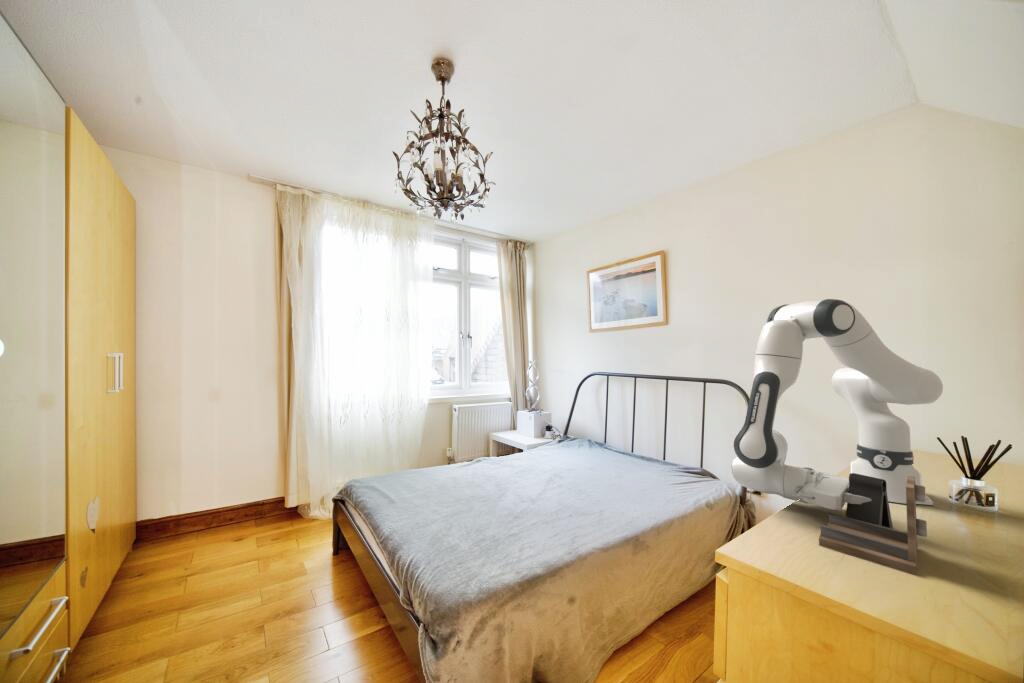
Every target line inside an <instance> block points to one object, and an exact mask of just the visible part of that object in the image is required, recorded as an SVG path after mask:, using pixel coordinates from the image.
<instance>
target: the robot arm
mask: <svg viewBox="0 0 1024 683" xmlns="http://www.w3.org/2000/svg"><path fill="white" fill-rule="evenodd" d="M816 338H817V339H818V338H823V340H824V341H825V343H826V344H827V346H828V347H829V349H830V350H831V352H832V353H833V354H834V356H835V357H836V359H837V361H839V363H840V364H842V365H844V366H845V367H841V368H838V369H837V370H835V372H834V373H833V375H832V377H831V386H832V389H833V390H834V392H835V393H836V394H837V395H839V396H840V397H841V398H843V399H844V400H845V402H847V404H848V405H849V407H850V408H851V409H852V412H853V414H854V417H855V419H856V425H857V437H858V438H857V439H858V444H856V456H857V458H856V459H854V460H852V461H851V462H850V473H855V474H860V475H865V476H869V477H874V478H878V479H883V480H885V481H886V484H887V497H888V502H889V503H890V502H892V503H895V504H896V503H898V504H903V505H904V504H905V505H906V484H907V478H908V476H911V477H915V485H921V486H923V484H922V474H921V473H920V472H919V471H918V470H917V469H916V468H915V467H914V466H913V464H914V458H915V457H914V453H913V451H912V450H911V449H912V447H911V428H910V426H909V424H908V423H907V421H905V420H904V419H902V418H901V417H900V416H898V415H896V414H894V413H893V412H892V410H890V408H889V406H888V403H889V404H897V405H898V404H899V405H909V406H910V405H913V406H914V405H926V404H932V403H935V402H936V401H937V400H939V398H940V397H941V396H942V394H943V390H944V385H943V382H942V380H941V378H940V377H939V375H938V374H937V373H936V372H934V371H932V370H930V369H928V368H923V367H921V366H919V365H916V364H914V363H911V362H909V361H908V360H906V359H904V358H902V357H901V356H900V355H898V354H896V353H895V352H894V351H892V350H891V349H889V347H887V346H886V345H885V344H884V342H883V341H882V340H881V339H880V337H879V336H878V334H877V333H876V331H875V330H874V329H873V327H872V326H871V324H870V323H869V321H868V320H867V319H866V318H865V317H864V316H863V315H862V313H861V312H860V311H859V310H858V309H857V308H856V307H854V306H853V305H852V304H851V303H848V302H846V301H844V300H842V299H834V298H826V299H818V300H817V299H815V300H812V299H811V300H804V301H800V302H795V303H791V304H782V305H780V306H777V307H775V308H774V309H772V310H771V311H770V313H769V314H768V316H767V319H766V323H765V324H764V325H763V327H762V329H761V331H760V334H759V336H758V339H757V344H756V347H755V348H756V349H755V352H754V353H755V354H754V361H753V363H754V364H753V374H752V384H751V390H750V396H749V399H748V400H749V401H748V405H747V406H748V407H747V410H746V415H745V420H744V423H743V426H742V428H741V429H740V431H738V433H737V435H736V436H735V438H734V441H733V449H734V450H733V451H734V452H735V455H736V457H735V458H733V459H732V462H731V471H732V472H731V473H732V475H733V478H734V480H735V481H736V483H737V484H739V485H740V486H741V487H744V488H747V489H750V490H753V491H756V492H758V493H759V492H760V493H764V494H766V495H778V496H779V497H782V498H784V499H788V500H792V501H796V502H800V503H803V504H810V505H814V506H818V507H820V508H824V509H827V510H831V511H839V512H840V511H842V509H843V508H844V506H845V505H846V504H847V503H850V504H862V503H864V502H869V501H872V500H871V499H870V498H867V497H863V496H859V495H853V494H851V493H848V492H849V478H846V477H843V476H840V475H835V474H830V473H827V472H822V471H816V469H815V468H812V467H799V466H793V465H787V464H785V462H786V459H787V458H786V457H787V453H788V442H787V439H786V437H784V435H783V434H781V433H780V432H778V431H776V430H775V429H774V423H775V418H776V413H777V408H778V403H779V401H780V398H781V397H782V395H783V394H784V393H785V392H786V391H787V390H788V389H790V388H791V387H792V386H793V385H795V383H797V382H796V381H797V379H798V377H799V374H800V371H801V367H802V362H803V353H804V352H803V351H804V349H803V348H804V343H803V342H804V341H805V340H806V339H807V340H808V339H816ZM925 498H926V502H919V501H916V505H924V506H925V505H926V506H934V502H933V500H932V499H931V498H930V497H929V496H928V495H927V494H925ZM799 499H800V500H799ZM797 500H799V501H797Z"/></svg>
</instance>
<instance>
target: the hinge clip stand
mask: <svg viewBox="0 0 1024 683" xmlns="http://www.w3.org/2000/svg"><path fill="white" fill-rule="evenodd" d="M925 495H926V486H924V485H922V486H921V485H915V477H911V476H908V478H907V484H906V504H905V505H906V526H907V527H906V528H907V529H906V530H907V531H902V530H899V529H895V528H892V529H891V528H887V527H883V526H879V525H876V524H872V523H868V522H864V521H860V520H856V519H852V518H848V517H846V516H845V515H844V516H843V515H839V514H836V513H832V512H828V523H827V525H824V524H821V525H820V536H818V545H819V546H821V547H823V548H828V549H830V550H832V551H837V552H840V553H843V554H847V555H849V556H853V557H857V558H860V559H863V560H865V561H869V562H872V563H875V564H879V565H882V566H886V567H889V568H892V569H895V570H899V571H902V572H905V573H909V574H911V575H915V576H917V571H918V570H917V568H918V552H919V551H918V549H919V548H918V546H919V545H918V536H919V537H924V538H926V537H928V528H927V520H925V519H920V518H917V504H916V501H919V502H926V498H925Z"/></svg>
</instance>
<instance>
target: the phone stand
mask: <svg viewBox="0 0 1024 683" xmlns="http://www.w3.org/2000/svg"><path fill="white" fill-rule="evenodd" d="M848 479H849V492H848V493H851V494H853V495H859V496H863V497H867V498H870V499H871V500H872V501H869V502H864V503H862V504H850V503H846V508H845V509H846V510H845V517H848V518H852V519H856V520H860V521H864V522H868V523H872V524H876V525H879V526H883V527H887V528H891V529H894V526H893V520H892V515H891V509H890V504H889V503H890V502H889V501H888V497H887V484H886V481H885V480H883V479H878V478H874V477H869V476H865V475H860V474H855V473H851V472H850V473H849V475H848Z"/></svg>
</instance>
